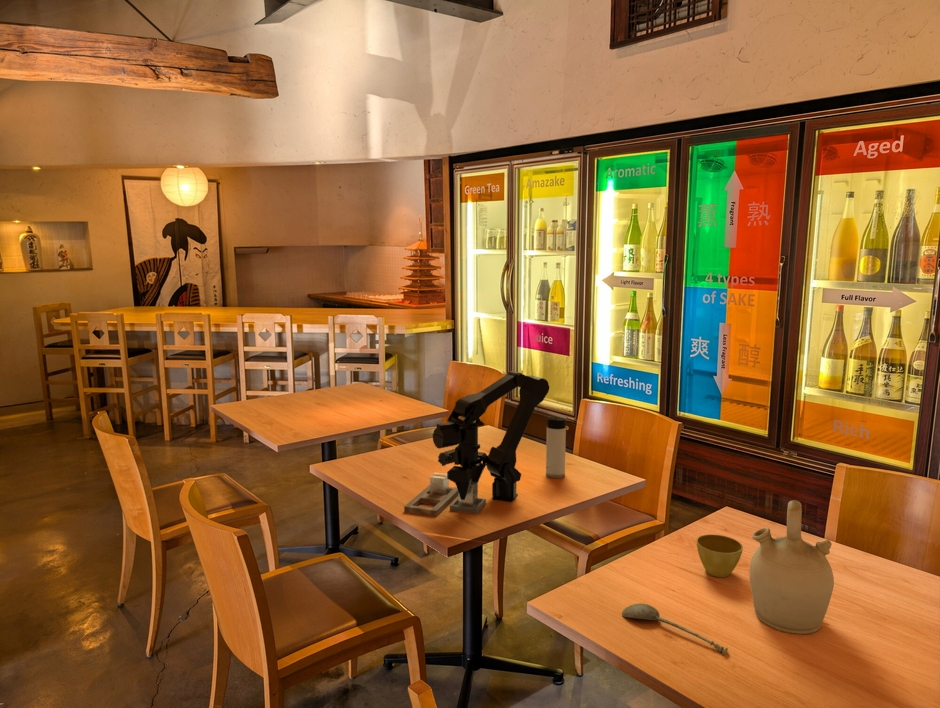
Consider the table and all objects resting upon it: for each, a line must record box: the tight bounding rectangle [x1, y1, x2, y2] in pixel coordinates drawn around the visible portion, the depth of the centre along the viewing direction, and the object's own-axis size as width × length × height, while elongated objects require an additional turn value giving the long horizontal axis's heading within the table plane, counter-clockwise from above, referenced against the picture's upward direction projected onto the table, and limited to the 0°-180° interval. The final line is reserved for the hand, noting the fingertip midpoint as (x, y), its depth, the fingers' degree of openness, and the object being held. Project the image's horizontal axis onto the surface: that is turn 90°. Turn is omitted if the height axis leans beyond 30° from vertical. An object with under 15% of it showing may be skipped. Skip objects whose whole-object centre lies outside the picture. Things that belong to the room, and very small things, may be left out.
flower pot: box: [696, 533, 744, 578], centre depth 152 cm, size 10×10×7 cm
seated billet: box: [429, 472, 450, 496], centre depth 199 cm, size 4×4×7 cm
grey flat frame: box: [403, 484, 458, 517], centre depth 194 cm, size 10×19×2 cm, turn 160°
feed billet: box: [457, 481, 479, 508], centre depth 190 cm, size 4×4×7 cm
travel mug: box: [545, 416, 567, 479], centre depth 217 cm, size 6×7×20 cm
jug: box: [749, 499, 835, 635], centre depth 131 cm, size 15×16×25 cm
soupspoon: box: [621, 602, 729, 656], centre depth 129 cm, size 22×3×7 cm
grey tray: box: [449, 497, 487, 515], centre depth 191 cm, size 8×8×2 cm
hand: (468, 494), depth 190 cm, fingers open, 9 cm apart
